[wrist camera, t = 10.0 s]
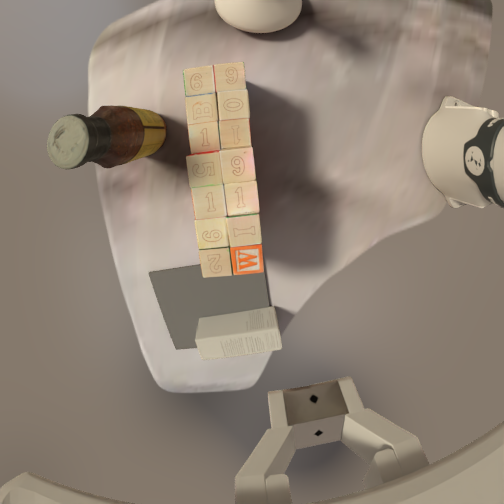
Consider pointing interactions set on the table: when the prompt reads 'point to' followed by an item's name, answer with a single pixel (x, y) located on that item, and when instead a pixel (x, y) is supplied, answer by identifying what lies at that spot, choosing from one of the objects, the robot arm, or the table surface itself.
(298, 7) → the flower in vase
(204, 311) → the placemat
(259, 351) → the skincare box
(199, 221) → the stack of blocks
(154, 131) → the sauce bottle
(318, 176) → the table surface
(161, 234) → the table surface
